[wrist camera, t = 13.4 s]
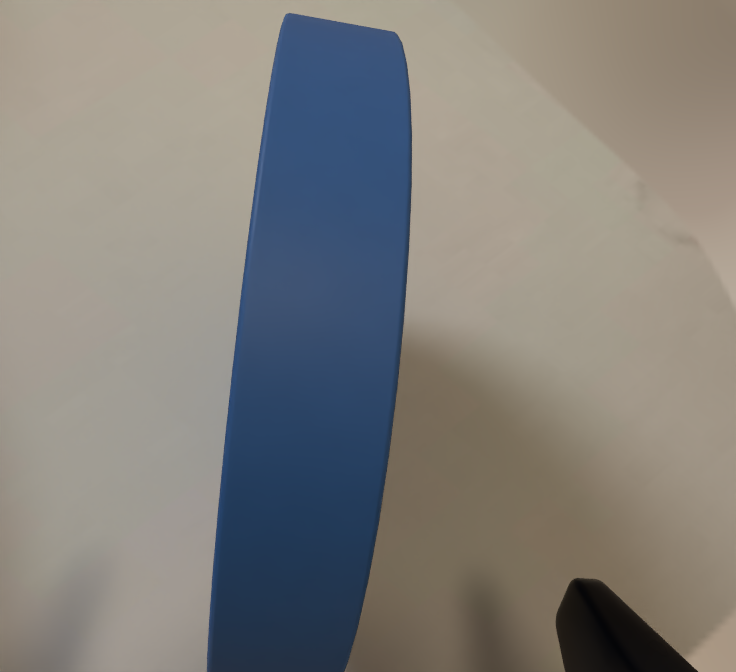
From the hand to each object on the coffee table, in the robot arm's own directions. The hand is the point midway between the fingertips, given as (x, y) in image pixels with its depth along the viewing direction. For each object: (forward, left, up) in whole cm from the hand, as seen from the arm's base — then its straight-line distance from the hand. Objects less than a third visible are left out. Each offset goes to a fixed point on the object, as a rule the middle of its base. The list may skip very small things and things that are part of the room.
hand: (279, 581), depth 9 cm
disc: (+3, -1, -7) cm, 7 cm away
